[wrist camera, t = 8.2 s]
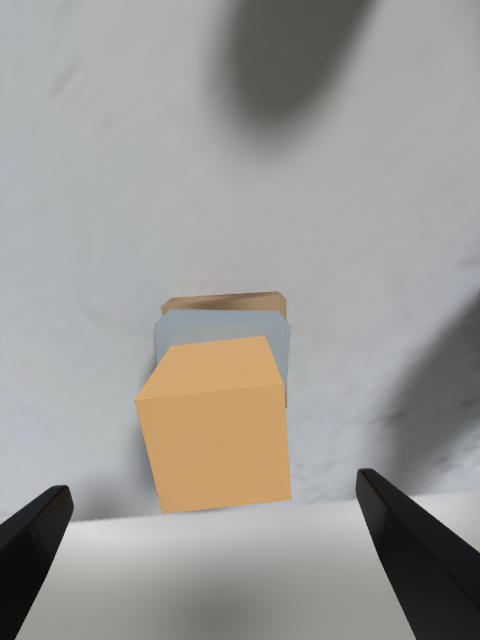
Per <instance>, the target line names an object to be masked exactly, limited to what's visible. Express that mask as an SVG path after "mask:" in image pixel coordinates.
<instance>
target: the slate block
mask: <svg viewBox="0 0 480 640" xmlns="http://www.w3.org/2000/svg"><path fill="white" fill-rule="evenodd" d="M154 328H155V343H156V358H157V365H158V364H159V362H160V361H161V359H162V358H163V356H164V355H165V353H166V352H167V350H168V349H169V347H170V346H176V345H185V344H194V343H203V342H213V341H222V340H231V339H240V338H249V337H259V336H266V339H267V342H268V344H269V347H270V350H271V352H272V355H273V357H274V360H275V363H276V365H277V368H278V371H279V373H280V376H281V379H282V381H283V384H284V399H285V391H286V379H287V366H288V353H289V341H290V328H291V326H290V325H289V324H288V322H287V321H286V320H285V318H284V317H283V316H282V314H281V313H280V312H279V311H256V310H197V309H170V310H169V311H168V312H167V313H166V314H165V315H164V316H162V317H161V318H160V319H159V320H158V321H157V322H156V323H155V324H154Z"/></svg>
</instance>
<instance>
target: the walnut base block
mask: <svg viewBox="0 0 480 640" xmlns="http://www.w3.org/2000/svg"><path fill="white" fill-rule="evenodd" d="M161 308H162V315H163V316H164V315H165V314H166V313H167V312H168V311H169V310H170V309H197V310H256V311H279V312H280V313H281V314H282V316H283V317H284V318H285V320H286V298H284V297H283V296H282V295H281V294H280V293H279V292H278V291H277V292H261V293H244V294H228V295H211V296H195V297H178V298H172V299H170V300H169V301H168V302H166V303H165V304H164V305H163V306H161ZM285 408H287V379H286V391H285Z"/></svg>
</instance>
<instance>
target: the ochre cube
mask: <svg viewBox="0 0 480 640" xmlns="http://www.w3.org/2000/svg"><path fill="white" fill-rule="evenodd" d="M135 403H136V407H137V412H138V416H139V420H140V424H141V428H142V432H143V436H144V440H145V444H146V448H147V453H148V457H149V461H150V465H151V469H152V473H153V477H154V481H155V485H156V490H157V494H158V498H159V502H160V506H161V510H162V514H164V513H174V512H183V511H192V510H202V509H211V508H220V507H230V506H239V505H248V504H258V503H267V502H276V501H286V500H291V488H290V473H289V458H288V443H287V428H286V414H285V399H284V384H283V381H282V379H281V376H280V373H279V371H278V368H277V365H276V363H275V360H274V357H273V355H272V352H271V350H270V347H269V344H268V342H267V339H266V336H259V337H249V338H240V339H231V340H222V341H213V342H203V343H194V344H185V345H176V346H170V347H169V349H168V350H167V352H166V353H165V355H164V356H163V358H162V359H161V361H160V362H159V364H158V365H157V367H156V368H155V370H154V371H153V373H152V375H151V376H150V378H149V379H148V381H147V382H146V384H145V385H144V387H143V388H142V390H141V391H140V393H139V394H138V396H137V397H136V399H135Z"/></svg>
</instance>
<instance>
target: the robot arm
mask: <svg viewBox="0 0 480 640" xmlns="http://www.w3.org/2000/svg"><path fill="white" fill-rule="evenodd" d="M356 496H357V499H358V502H359V504H360V507H361V510H362V513H363V515H364V518H365V521H366V524H367V527H368V529H369V532H370V535H371V537H372V540H373V543H374V546H375V548H376V551H377V554H378V556H379V559H380V561H381V563H382V565H383V568H384V570H385V572H386V574H387V577H388V579H389V581H390V583H391V585H392V587H393V590H394V592H395V594H396V596H397V598H398V601H399V603H400V605H401V607H402V609H403V611H404V614H405V616H406V618H407V620H408V622H409V624H410V626H411V629H412V631H413V633H414V635H415V637H416V640H480V553H479V552H478V551H477V550H476V549H474V548H473V547H472V546H471V545H469V544H468V543H467V542H465V541H464V540H463V539H462V538H460V537H459V536H458V535H456V534H455V533H454V532H453V531H451V530H450V529H449V528H448V527H446V526H445V525H444V524H442V523H441V522H440V521H439V520H437V519H436V518H435V517H434V516H432V515H431V514H430V513H428V512H427V511H426V510H425V509H423V508H422V507H420V506H419V505H418V504H417V503H415V502H414V501H413V500H412V499H411V498H409V497H408V496H407V495H405V494H404V493H403V492H402V491H400V490H399V489H398V488H397V487H395V486H394V485H393V484H391V483H390V482H389V481H388V480H386V479H385V478H384V477H382V476H381V475H380V474H379V473H377V472H376V471H375V470H373V469H371V468H364V469H359V470H358V472H357V480H356ZM73 509H74V504H73V500H72V497H71V493H70V489H69V487H68V486H67V485H55V486H52V487H50V488H49V489H48V490H46V491H45V492H43V493H42V494H41V495H39V496H38V497H37V498H35V499H34V500H33V501H31V502H30V503H29V504H27V505H26V506H25V507H23V508H22V509H21V510H19V511H18V512H17V513H15V514H14V515H13V516H11V517H10V518H8V519H7V520H6V521H4V522H3V523H2V524H0V640H15V638H16V636H17V634H18V632H19V630H20V628H21V626H22V624H23V622H24V620H25V618H26V616H27V614H28V612H29V610H30V608H31V606H32V604H33V602H34V600H35V598H36V596H37V594H38V592H39V590H40V588H41V586H42V584H43V582H44V580H45V578H46V576H47V574H48V571H49V569H50V566H51V564H52V562H53V560H54V557H55V554H56V552H57V550H58V548H59V545H60V543H61V540H62V538H63V535H64V533H65V531H66V528H67V526H68V523H69V521H70V519H71V516H72V513H73Z"/></svg>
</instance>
